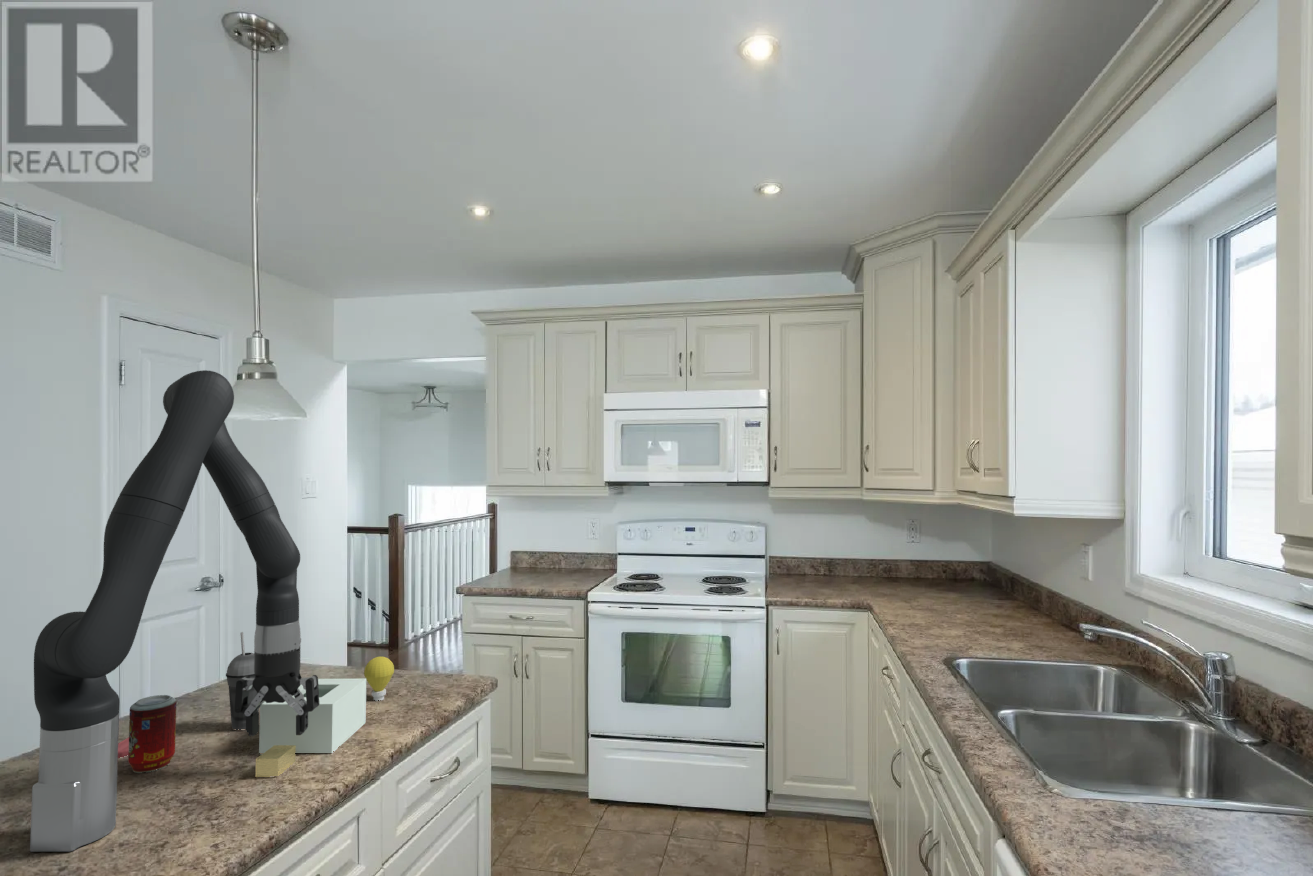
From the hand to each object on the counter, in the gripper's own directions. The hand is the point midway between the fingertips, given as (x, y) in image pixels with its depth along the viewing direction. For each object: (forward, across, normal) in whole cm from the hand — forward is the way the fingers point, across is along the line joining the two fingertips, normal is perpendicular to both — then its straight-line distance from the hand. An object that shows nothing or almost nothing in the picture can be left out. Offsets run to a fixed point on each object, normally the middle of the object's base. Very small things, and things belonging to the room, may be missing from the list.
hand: (277, 734), depth 127 cm
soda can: (+6, -24, +2) cm, 25 cm away
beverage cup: (+7, -17, +20) cm, 28 cm away
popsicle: (+7, -34, +13) cm, 36 cm away
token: (+6, 0, -1) cm, 6 cm away
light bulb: (+7, +5, +37) cm, 38 cm away
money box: (+6, 0, +14) cm, 16 cm away
